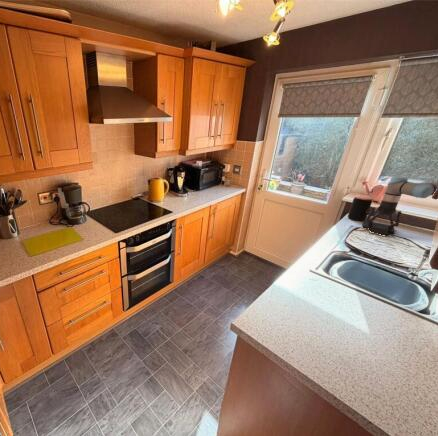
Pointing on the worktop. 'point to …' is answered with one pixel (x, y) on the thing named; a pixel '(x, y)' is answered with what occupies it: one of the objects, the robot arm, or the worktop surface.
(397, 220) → the robot arm
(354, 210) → the coffee jar
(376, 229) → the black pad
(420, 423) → the worktop surface
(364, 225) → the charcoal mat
